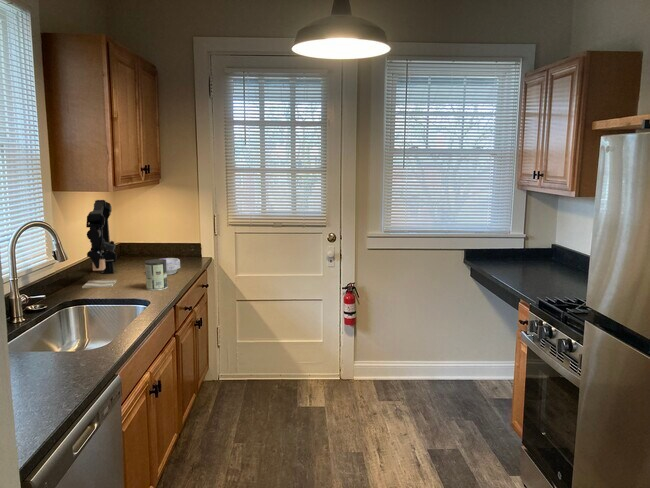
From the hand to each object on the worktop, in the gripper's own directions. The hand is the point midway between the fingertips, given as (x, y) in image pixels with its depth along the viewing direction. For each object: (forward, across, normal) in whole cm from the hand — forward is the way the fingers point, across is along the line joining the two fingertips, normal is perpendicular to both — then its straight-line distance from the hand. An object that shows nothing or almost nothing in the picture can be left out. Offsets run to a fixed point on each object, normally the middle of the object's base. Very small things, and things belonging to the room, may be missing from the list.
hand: (99, 267), depth 267 cm
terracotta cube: (+1, 0, 0) cm, 1 cm away
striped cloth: (+9, 0, 0) cm, 9 cm away
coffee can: (+9, -13, -30) cm, 34 cm away
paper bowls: (+9, +21, -31) cm, 39 cm away
